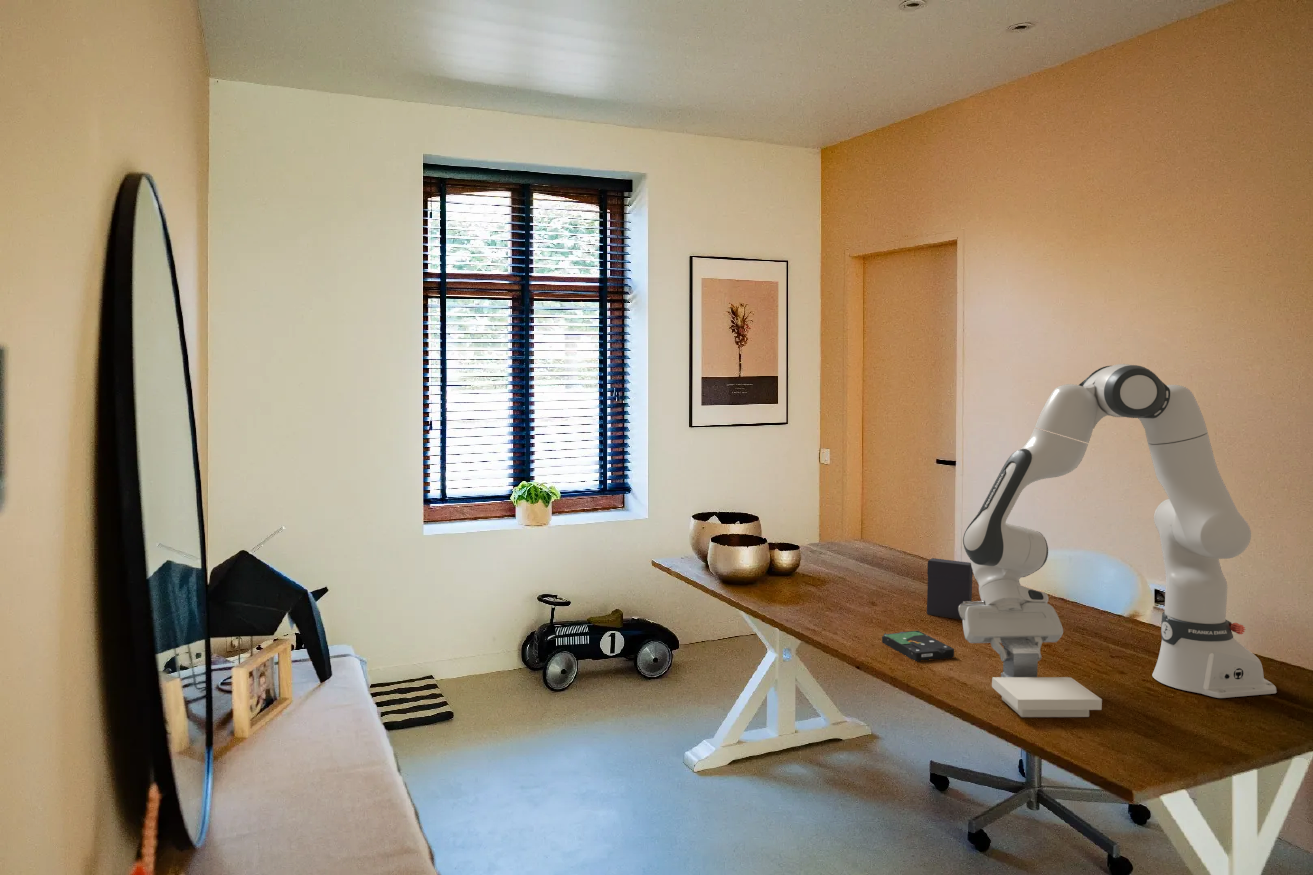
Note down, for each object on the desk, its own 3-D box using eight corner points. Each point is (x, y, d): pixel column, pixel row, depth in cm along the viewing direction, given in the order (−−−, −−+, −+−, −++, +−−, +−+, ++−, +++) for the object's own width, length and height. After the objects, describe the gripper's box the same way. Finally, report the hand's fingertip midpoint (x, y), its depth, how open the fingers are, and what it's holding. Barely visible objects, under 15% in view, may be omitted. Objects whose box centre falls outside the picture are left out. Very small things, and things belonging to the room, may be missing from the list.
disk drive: (955, 660, 201) (917, 640, 216) (955, 648, 201) (918, 629, 215) (915, 664, 198) (880, 644, 212) (916, 652, 198) (880, 632, 212)
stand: (1069, 696, 178) (1070, 677, 177) (1100, 719, 166) (1101, 699, 165) (991, 696, 177) (992, 677, 177) (1017, 720, 165) (1017, 699, 165)
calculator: (971, 617, 234) (973, 562, 233) (967, 621, 231) (969, 565, 230) (930, 611, 240) (932, 557, 239) (925, 614, 237) (927, 560, 235)
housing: (1027, 676, 186) (1028, 639, 186) (1039, 686, 181) (1040, 648, 180) (1000, 677, 186) (1001, 640, 186) (1012, 686, 181) (1013, 648, 180)
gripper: (960, 594, 189) (976, 653, 180) (1054, 593, 189) (1075, 652, 180) (952, 608, 194) (967, 667, 185) (1044, 607, 194) (1064, 665, 185)
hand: (1021, 659), depth 182 cm, fingers closed on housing, 5 cm apart
